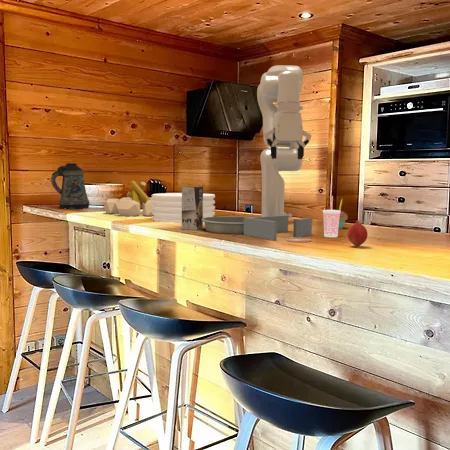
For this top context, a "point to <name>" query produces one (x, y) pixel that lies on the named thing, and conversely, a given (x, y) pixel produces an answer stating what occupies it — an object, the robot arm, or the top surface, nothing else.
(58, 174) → the beer stein
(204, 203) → the plate stack
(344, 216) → the cupcake
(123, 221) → the top surface
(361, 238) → the onion
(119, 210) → the campfire
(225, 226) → the cake pan
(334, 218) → the beverage cup
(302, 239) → the coaster
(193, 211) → the coffee box
